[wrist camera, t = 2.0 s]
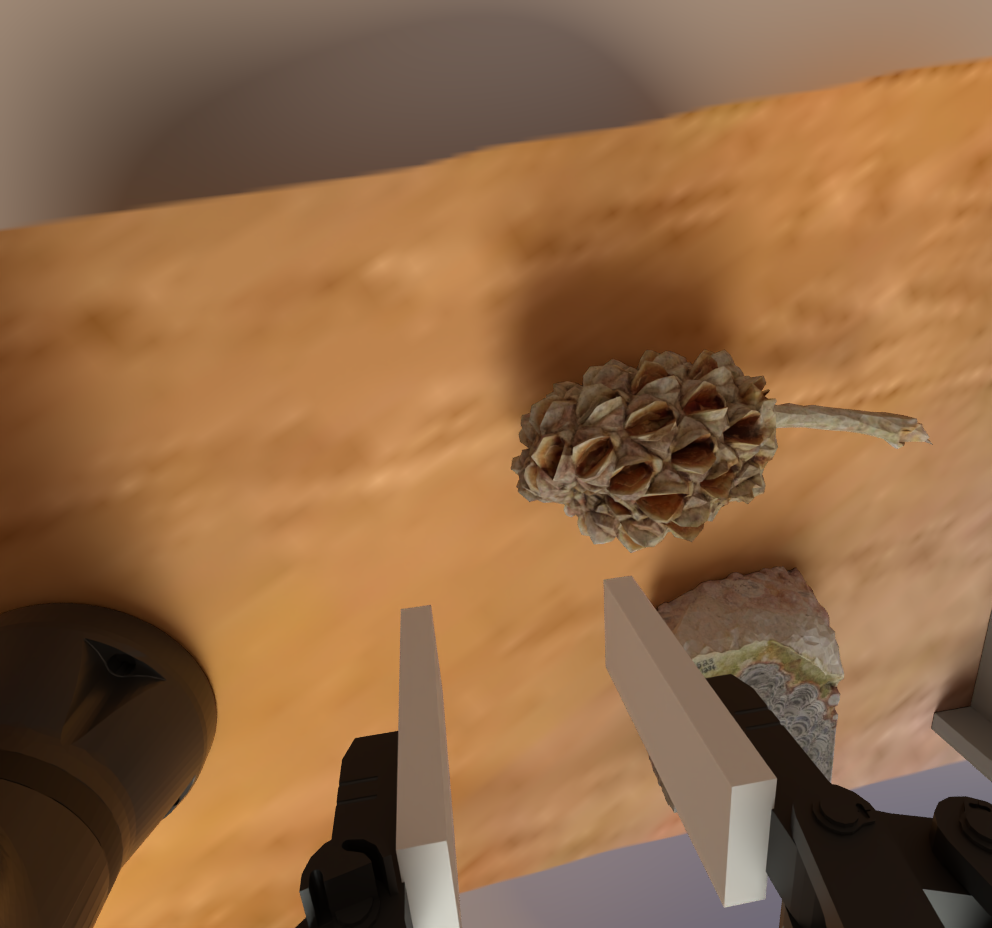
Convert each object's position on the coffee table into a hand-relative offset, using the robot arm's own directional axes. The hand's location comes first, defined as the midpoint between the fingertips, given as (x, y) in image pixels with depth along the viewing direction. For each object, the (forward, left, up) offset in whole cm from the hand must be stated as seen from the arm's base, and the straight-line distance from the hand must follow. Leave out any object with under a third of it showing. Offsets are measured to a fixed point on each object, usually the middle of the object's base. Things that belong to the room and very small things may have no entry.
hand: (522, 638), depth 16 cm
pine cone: (+13, 0, -19) cm, 23 cm away
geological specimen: (+16, -19, -19) cm, 31 cm away
